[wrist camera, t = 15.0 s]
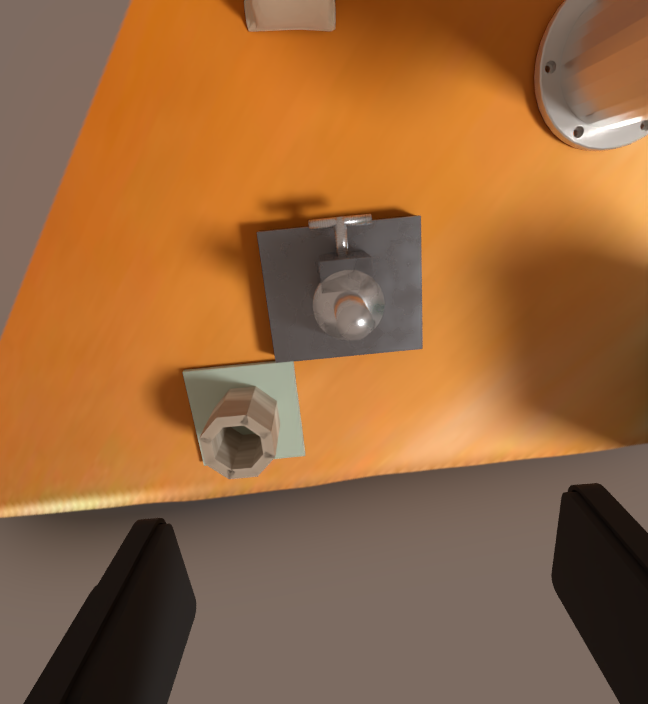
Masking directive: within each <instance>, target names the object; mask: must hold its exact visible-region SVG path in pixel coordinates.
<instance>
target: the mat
mask: <svg viewBox="0 0 648 704" xmlns="http://www.w3.org/2000/svg"><path fill="white" fill-rule="evenodd" d="M182 373H183V377H184V381H185V386H186V390H187V394H188V399H189V403H190V407H191V411H192V416H193V420H194V424H195V429H196V433H197V437H198V442H199V446H200V450H201V445H200V441H199V437H200V435H201V433H202V431H203V429H204V427H205V425H206V423H207V421H208V419H209V417H210V415H211V413H212V411H213V409H214V407H215V406H216V405H217V404H218V403H219V401H220V400H221V399H222V398H223V396H224V395H225V394H226V393H227V392H228V390H229V389H232V388H243V387H253V386H256V387H258V388H259V389H261V390H262V391H263V392H265V393H266V394H268V395H269V396H270V397H272V398H273V399H275V400H276V401H277V405H278V412H279V418H280V430H279V436H278V443H277V449H276V455H275V458H274V459H278V458H288V457H299V456H305V447H304V439H303V432H302V424H301V416H300V409H299V401H298V393H297V385H296V378H295V370H294V362H293V361H292V362H282V363H276V361H269V362H259V363H248V364H238V365H228V366H218V367H208V368H197V369H187V370H184V371H183V372H182ZM232 428H233V429H235V430H236V431H238V432H239V433H241V434H242V435H246V434H256V433H254V432H253V431H251V430H250V429H248V428H247V427H245V426H244V425H243V426H233V427H232ZM201 455H202V459H203V463H204V458H203V454H202V450H201ZM205 465H206V464H205V463H204V466H205Z"/></svg>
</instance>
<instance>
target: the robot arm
mask: <svg viewBox="0 0 648 704" xmlns="http://www.w3.org/2000/svg"><path fill="white" fill-rule="evenodd" d="M545 68H546V69H547V72H546V71H545ZM534 83H535V95H536V99H537V104H538V108H539V110H540V113H541V115H542V117H543V119H544V122H545V123H546V124H547V126H548V127H549V128H550V130H551V131H552V132H553V134H554V135H556V136H557V137H558V138H559V139H560V140H562V141H563V142H564V143H566V144H568V145H570V146H572V147H574V148H578V149H582V150H586V151H605V150H610V149H616V148H619V147H623V146H626V145H629V144H632V143H633V142H635V141H637V140H639V139H641V138H643V137H645V136H646V135H648V0H564V2H563V3H562V4H561V5H560V6H559V7H558V9H557V11H556V12H555V14H554V15H553V17H552V19H551V20H550V22H549V23H548V26H547V28H546V30H545V33H544V35H543V37H542V40H541V42H540V46H539V50H538V54H537V57H536V64H535V73H534ZM573 132H574V135H573ZM552 583H553V586H554V589H555V591H556V593H557V595H558V597H559V598H560V600H561V602H562V604H563V605H564V607H565V609H566V611H567V612H568V614H569V616H570V618H571V619H572V621H573V623H574V624H575V626H576V628H577V630H578V631H579V633H580V635H581V637H582V638H583V640H584V642H585V644H586V645H587V647H588V649H589V650H590V652H591V654H592V656H593V657H594V659H595V661H596V663H597V664H598V666H599V668H600V670H601V671H602V673H603V675H604V677H605V678H606V680H607V682H608V684H609V685H610V687H611V688H612V690H613V692H614V694H615V696H616V697H617V699H618V701H619V703H620V704H648V533H647V532H646V531H645V530H644V529H643V528H642V527H641V526H640V524H639V523H638V522H637V521H636V520H635V519H634V518H633V517H632V516H631V515H630V514H629V513H628V512H627V511H626V510H625V509H624V508H623V507H622V505H621V504H620V503H619V502H618V501H617V500H616V499H615V498H614V497H613V496H612V495H611V494H610V493H609V492H608V491H607V490H606V489H605V488H604V487H603V486H602V485H601V484H598V483H594V484H581V485H571V486H570V487H569V489H568V492H565V493H563V494H562V498H561V505H560V513H559V521H558V528H557V536H556V544H555V552H554V559H553V567H552ZM195 613H196V599H195V596H194V593H193V589H192V586H191V583H190V580H189V577H188V574H187V571H186V568H185V564H184V561H183V558H182V555H181V552H180V549H179V546H178V543H177V539H176V536H175V533H174V530H173V527H172V525H171V524H166V522H165V520H164V519H163V518H156V519H143V520H138V521H136V522H135V523H134V525H133V526H132V528H131V530H130V532H129V533H128V535H127V536H126V538H125V540H124V541H123V543H122V545H121V546H120V548H119V550H118V552H117V553H116V555H115V557H114V558H113V560H112V562H111V564H110V565H109V567H108V568H107V570H106V572H105V573H104V575H103V577H102V578H101V580H100V582H99V583H98V585H97V586H95V587H94V589H93V590H92V591H91V593H90V594H89V596H88V597H87V599H86V601H85V602H84V604H83V606H82V607H81V609H80V611H79V612H78V614H77V616H76V617H75V619H74V621H73V622H72V624H71V626H70V627H69V629H68V631H67V633H66V634H65V636H64V637H63V639H62V641H61V642H60V644H59V646H58V647H57V649H56V651H55V652H54V654H53V656H52V657H51V659H50V660H49V662H48V664H47V665H46V667H45V669H44V670H43V672H42V674H41V675H40V677H39V679H38V681H37V682H36V684H35V685H34V687H33V689H32V690H31V692H30V694H29V695H28V697H27V699H26V700H25V702H24V704H167V702H168V699H169V696H170V693H171V690H172V687H173V684H174V680H175V677H176V674H177V671H178V668H179V665H180V661H181V658H182V655H183V652H184V649H185V646H186V643H187V640H188V636H189V633H190V630H191V627H192V624H193V621H194V618H195Z"/></svg>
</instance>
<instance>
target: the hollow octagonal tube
mask: <svg viewBox="0 0 648 704" xmlns="http://www.w3.org/2000/svg"><path fill="white" fill-rule="evenodd" d="M243 425H244V426H245V427H247V428H248V429H250V430H251V431H253V432H254V433H256V434H246V435H242V434H241V433H239V432H238V431H236V430H235V429H233V428H232V427H233V426H243ZM279 430H280V418H279V412H278V405H277V401H276V400H275V399H273V398H272V397H270V396H269V395H268V394H266V393H265V392H263V391H262V390H261V389H259V388H258V387H256V386H253V387H243V388H232V389H229V390H228V392H227V393H226V394H225V395H224V396H223V398H222V399H221V400H220V401H219V403H218V404H217V405H216V406H215V407H214V409H213V411H212V413H211V415H210V417H209V419H208V421H207V423H206V425H205V427H204V429H203V431H202V433H201V435H200V437H199V441H200V445H201V450H202V454H203V458H204V463H205V464H206V465H207V466H209V467H210V468H212V469H214V470H215V471H217V472H218V473H220V474H222V475H223V476H225V477H226V478H228V479H236V478H247V477H258V475H259V474H260V473H261V472H262V471H263V470H264V469H265V468H266V467H267V466H268V464H269V463H270V462H271V461H272V460H273V459H274V458H275V455H276V449H277V443H278V436H279Z"/></svg>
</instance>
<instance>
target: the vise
mask: <svg viewBox="0 0 648 704" xmlns="http://www.w3.org/2000/svg"><path fill="white" fill-rule="evenodd" d="M308 223H309V226H305V227H295V228H285V229H275V230H265V231H259V232H257V238H258V245H259V251H260V258H261V265H262V272H263V279H264V286H265V293H266V299H267V306H268V313H269V320H270V327H271V334H272V341H273V348H274V354H275V361H276V363H282V362H292V361H303V360H313V359H323V358H333V357H343V356H354V355H364V354H374V353H384V352H395V351H405V350H415V349H423V348H422V269H421V216H417V215H414V216H404V217H394V218H384V219H374V220H372V216H371V214H363V215H353V216H342V217H333V218H323V219H313V220H308Z"/></svg>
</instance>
